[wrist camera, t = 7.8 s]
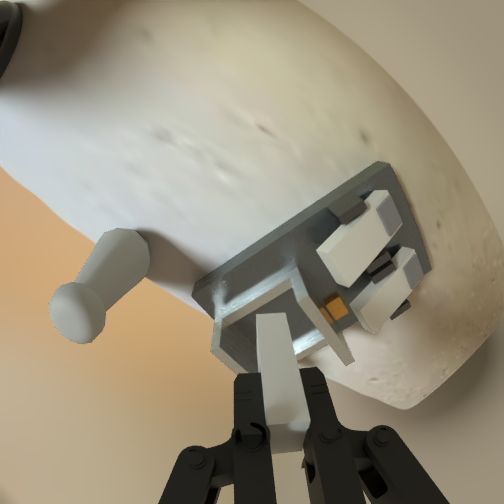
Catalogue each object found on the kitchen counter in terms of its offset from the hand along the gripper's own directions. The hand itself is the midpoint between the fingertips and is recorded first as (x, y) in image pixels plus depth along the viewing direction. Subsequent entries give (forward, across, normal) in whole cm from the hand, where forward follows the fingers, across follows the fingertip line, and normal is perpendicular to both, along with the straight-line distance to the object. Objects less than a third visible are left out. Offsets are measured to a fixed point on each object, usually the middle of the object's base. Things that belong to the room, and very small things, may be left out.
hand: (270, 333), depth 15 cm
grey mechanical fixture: (+13, +6, -4) cm, 15 cm away
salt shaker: (+14, -13, 0) cm, 19 cm away
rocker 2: (+8, +12, -3) cm, 15 cm away
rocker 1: (+8, +9, +2) cm, 12 cm away
